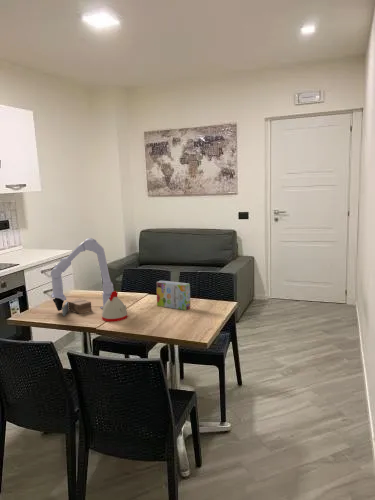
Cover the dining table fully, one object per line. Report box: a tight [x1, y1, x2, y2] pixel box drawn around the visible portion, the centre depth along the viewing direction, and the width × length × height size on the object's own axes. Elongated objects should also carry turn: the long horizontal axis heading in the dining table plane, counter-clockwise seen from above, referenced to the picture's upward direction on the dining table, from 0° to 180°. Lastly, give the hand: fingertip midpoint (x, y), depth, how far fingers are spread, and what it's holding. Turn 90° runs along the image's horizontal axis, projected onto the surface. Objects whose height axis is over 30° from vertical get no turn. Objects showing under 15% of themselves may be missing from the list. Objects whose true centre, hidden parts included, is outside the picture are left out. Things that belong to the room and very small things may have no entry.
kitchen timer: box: [101, 290, 128, 323], centre depth 225 cm, size 14×14×15 cm
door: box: [61, 301, 70, 317], centre depth 237 cm, size 13×1×6 cm, turn 6°
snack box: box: [155, 280, 191, 311], centre depth 240 cm, size 21×6×15 cm, turn 58°
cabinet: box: [67, 298, 92, 315], centre depth 241 cm, size 12×8×5 cm, turn 46°
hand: (59, 310), depth 239 cm, fingers closed
